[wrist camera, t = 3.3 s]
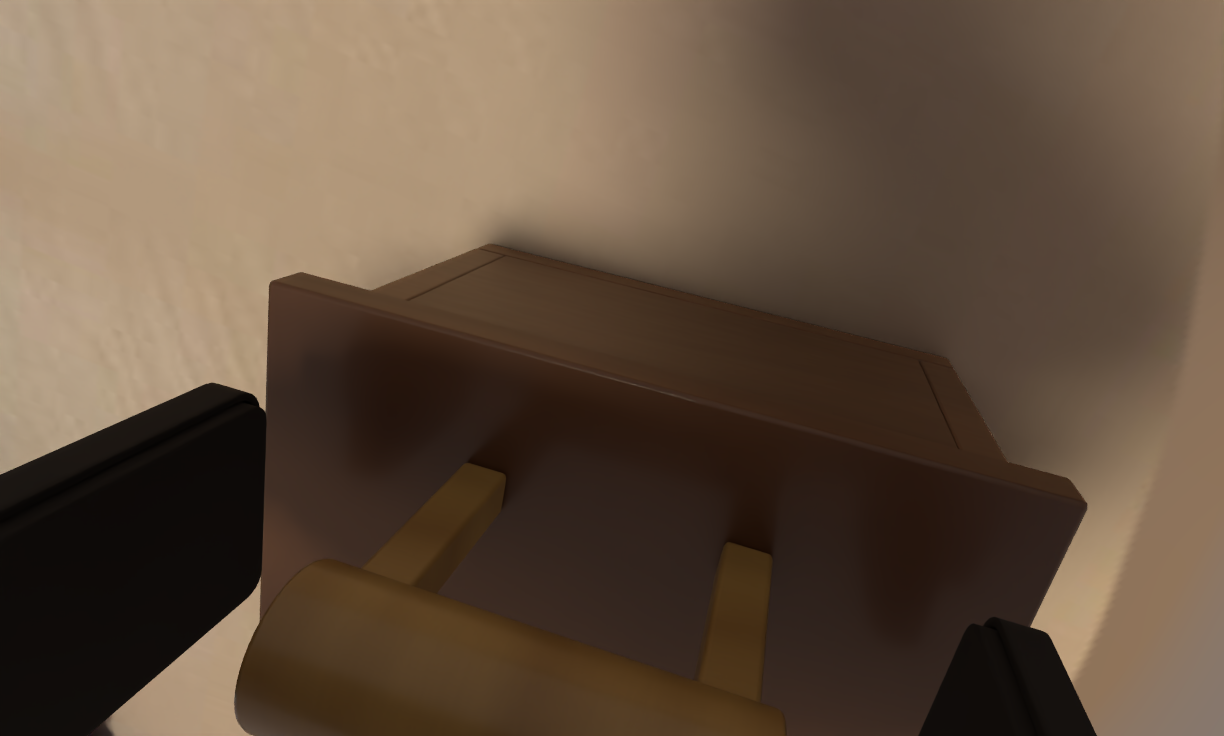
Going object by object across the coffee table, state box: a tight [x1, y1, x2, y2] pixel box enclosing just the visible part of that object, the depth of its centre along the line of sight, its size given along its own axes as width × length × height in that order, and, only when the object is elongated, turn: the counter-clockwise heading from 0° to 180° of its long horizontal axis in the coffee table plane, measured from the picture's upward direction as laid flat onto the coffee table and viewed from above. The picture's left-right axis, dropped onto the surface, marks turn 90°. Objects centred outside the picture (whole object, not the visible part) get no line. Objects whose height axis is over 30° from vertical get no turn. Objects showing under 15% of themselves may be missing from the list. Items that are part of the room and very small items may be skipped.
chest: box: [371, 244, 1007, 462], centre depth 17 cm, size 15×12×8 cm
